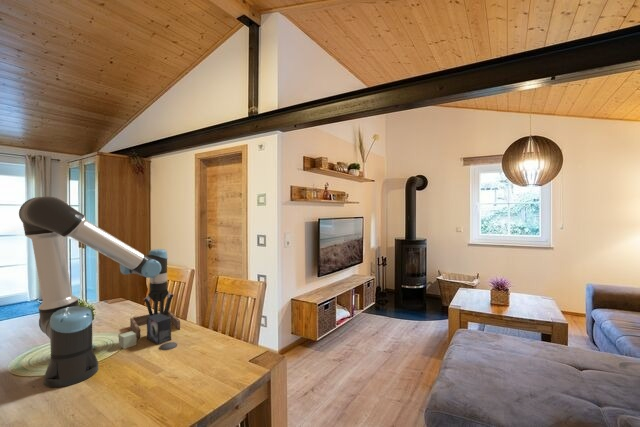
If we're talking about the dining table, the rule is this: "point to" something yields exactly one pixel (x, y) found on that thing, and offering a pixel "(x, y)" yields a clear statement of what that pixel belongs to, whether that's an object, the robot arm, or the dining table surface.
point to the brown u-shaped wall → (142, 320)
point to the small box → (159, 328)
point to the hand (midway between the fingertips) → (158, 330)
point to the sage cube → (127, 339)
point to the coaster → (168, 346)
